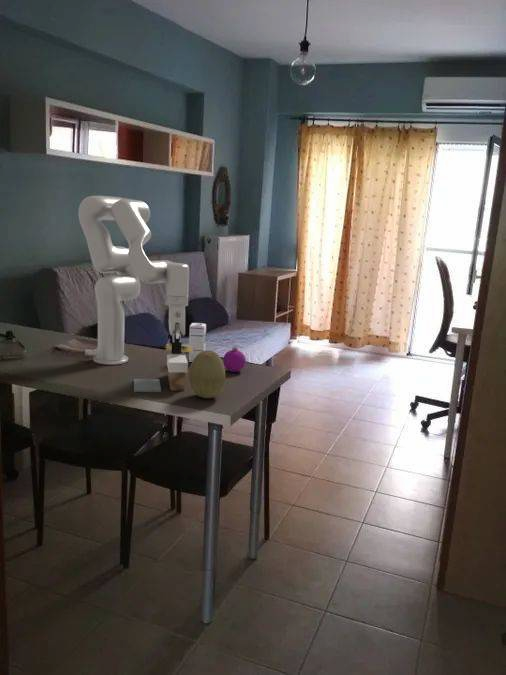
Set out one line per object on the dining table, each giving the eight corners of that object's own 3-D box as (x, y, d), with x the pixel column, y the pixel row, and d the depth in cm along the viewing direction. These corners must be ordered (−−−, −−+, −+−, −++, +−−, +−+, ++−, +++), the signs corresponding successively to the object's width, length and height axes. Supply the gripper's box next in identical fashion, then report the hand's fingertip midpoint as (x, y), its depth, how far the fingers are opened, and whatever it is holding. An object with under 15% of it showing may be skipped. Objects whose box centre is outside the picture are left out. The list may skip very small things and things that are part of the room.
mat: (133, 391, 185) (134, 390, 185) (133, 380, 197) (133, 379, 196) (161, 391, 187) (161, 390, 187) (159, 380, 198) (159, 379, 198)
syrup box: (203, 363, 223) (205, 326, 220) (188, 362, 223) (189, 325, 220) (205, 360, 229) (206, 323, 226) (190, 359, 229) (191, 322, 226)
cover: (168, 372, 187) (168, 362, 187) (166, 364, 197) (167, 354, 196) (187, 372, 189) (187, 362, 188) (185, 364, 198) (185, 354, 198)
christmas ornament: (222, 368, 219) (223, 341, 217) (244, 368, 220) (245, 342, 218) (222, 374, 211) (224, 347, 209) (245, 375, 212) (247, 347, 210)
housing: (170, 390, 189) (171, 372, 188) (167, 375, 206) (168, 358, 204) (184, 390, 190) (185, 372, 188) (180, 375, 206) (180, 358, 205)
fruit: (181, 398, 181) (183, 351, 178) (197, 389, 192) (199, 344, 188) (215, 405, 177) (217, 356, 174) (230, 395, 188) (232, 349, 185)
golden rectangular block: (191, 365, 200) (191, 347, 199) (165, 362, 202) (166, 344, 200) (192, 363, 202) (193, 345, 201) (167, 361, 204) (167, 343, 202)
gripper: (190, 305, 190) (188, 356, 194) (185, 296, 207) (184, 344, 210) (167, 304, 189) (165, 356, 192) (164, 296, 205) (162, 344, 209)
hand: (175, 350), depth 201 cm, fingers open, 9 cm apart
